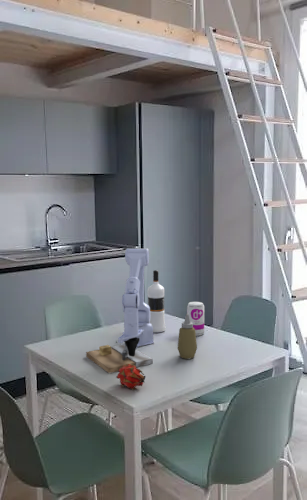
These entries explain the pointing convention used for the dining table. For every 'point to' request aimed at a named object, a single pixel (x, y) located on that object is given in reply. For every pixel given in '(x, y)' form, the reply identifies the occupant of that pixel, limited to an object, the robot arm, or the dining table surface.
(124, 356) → the lock bar
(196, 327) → the supplement can
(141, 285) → the robot arm
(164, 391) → the dining table surface
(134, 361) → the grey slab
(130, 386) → the dragon fruit
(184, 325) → the squeeze bottle
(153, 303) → the vodka
